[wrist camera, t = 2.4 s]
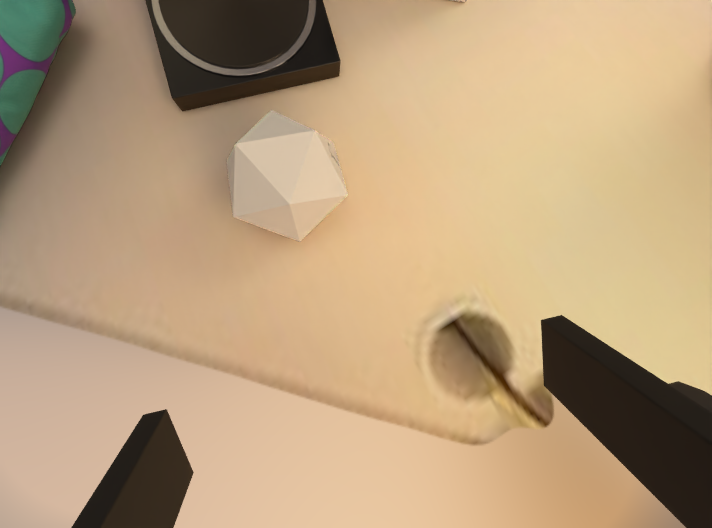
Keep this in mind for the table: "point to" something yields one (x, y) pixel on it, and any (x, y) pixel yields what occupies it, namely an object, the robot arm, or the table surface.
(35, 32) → the pencil case
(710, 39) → the table surface
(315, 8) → the hot plate
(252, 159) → the die
